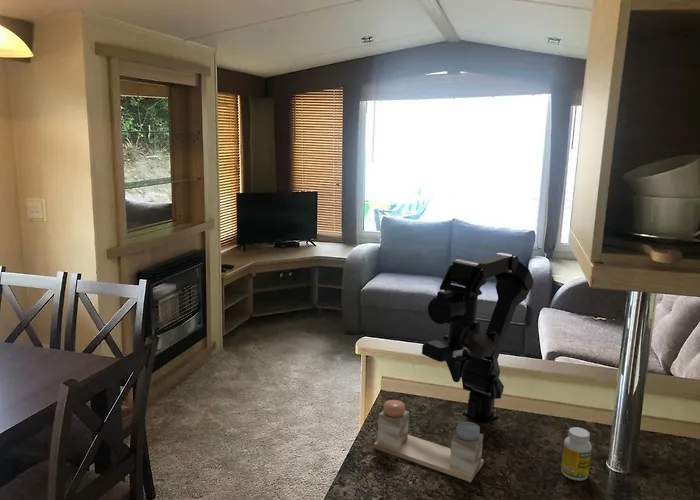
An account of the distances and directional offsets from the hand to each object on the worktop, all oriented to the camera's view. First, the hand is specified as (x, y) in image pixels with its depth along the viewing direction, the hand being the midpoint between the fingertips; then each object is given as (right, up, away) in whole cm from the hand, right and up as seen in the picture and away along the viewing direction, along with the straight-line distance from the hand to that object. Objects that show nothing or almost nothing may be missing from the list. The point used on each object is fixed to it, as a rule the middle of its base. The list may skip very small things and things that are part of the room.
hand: (456, 381), depth 130 cm
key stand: (-7, -15, -7) cm, 18 cm away
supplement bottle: (+22, -17, -12) cm, 30 cm away
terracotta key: (-15, -8, -4) cm, 17 cm away
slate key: (0, -10, -12) cm, 16 cm away
